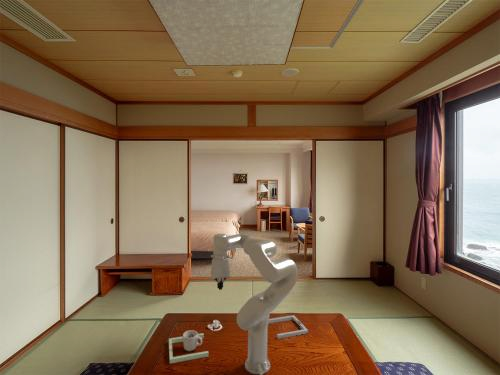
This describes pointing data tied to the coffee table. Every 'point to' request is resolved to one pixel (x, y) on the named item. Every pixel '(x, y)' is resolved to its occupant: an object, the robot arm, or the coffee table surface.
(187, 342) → the cup
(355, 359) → the coffee table surface
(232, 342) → the coffee table surface
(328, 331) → the coffee table surface
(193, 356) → the mint green u-frame
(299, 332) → the grey u-frame
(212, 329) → the white curved piece
